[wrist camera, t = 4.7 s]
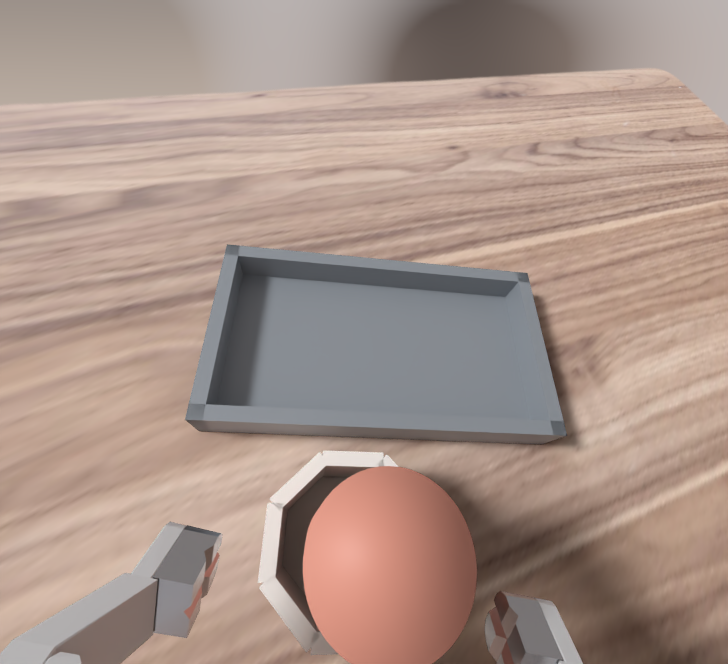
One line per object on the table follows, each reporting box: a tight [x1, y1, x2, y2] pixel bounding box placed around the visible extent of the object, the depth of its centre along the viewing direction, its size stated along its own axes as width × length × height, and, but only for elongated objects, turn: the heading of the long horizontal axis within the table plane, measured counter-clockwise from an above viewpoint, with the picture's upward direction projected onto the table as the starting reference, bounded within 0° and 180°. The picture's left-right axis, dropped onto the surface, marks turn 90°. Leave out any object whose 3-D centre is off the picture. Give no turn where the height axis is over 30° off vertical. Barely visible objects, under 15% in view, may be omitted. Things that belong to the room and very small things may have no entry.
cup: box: [258, 451, 398, 655], centre depth 16 cm, size 7×7×5 cm
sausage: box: [303, 466, 477, 664], centre depth 13 cm, size 4×4×12 cm
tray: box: [185, 245, 567, 444], centre depth 22 cm, size 20×11×2 cm, turn 89°
